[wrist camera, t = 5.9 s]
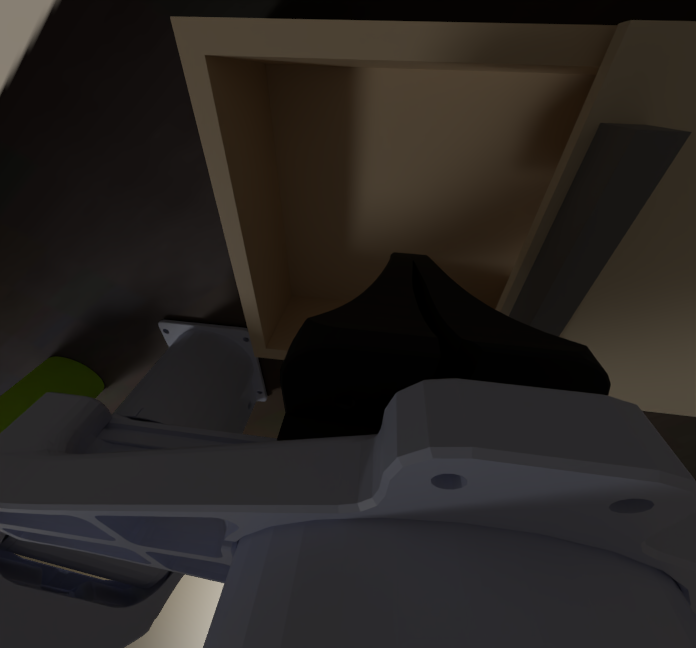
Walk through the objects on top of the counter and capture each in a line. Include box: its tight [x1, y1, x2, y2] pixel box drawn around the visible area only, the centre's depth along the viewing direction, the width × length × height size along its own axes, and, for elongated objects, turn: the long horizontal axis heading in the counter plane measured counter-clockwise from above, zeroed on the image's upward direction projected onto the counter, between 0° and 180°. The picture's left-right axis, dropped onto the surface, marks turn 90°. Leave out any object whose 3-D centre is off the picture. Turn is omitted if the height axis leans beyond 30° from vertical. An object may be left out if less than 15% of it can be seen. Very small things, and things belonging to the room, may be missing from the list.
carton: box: [170, 17, 618, 360], centre depth 15 cm, size 14×16×6 cm
